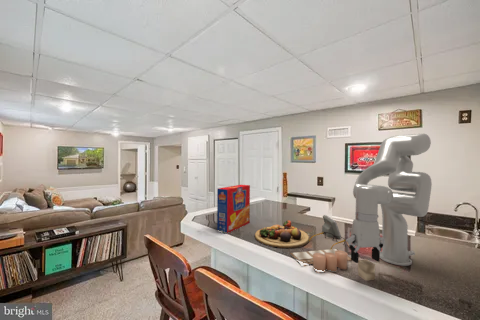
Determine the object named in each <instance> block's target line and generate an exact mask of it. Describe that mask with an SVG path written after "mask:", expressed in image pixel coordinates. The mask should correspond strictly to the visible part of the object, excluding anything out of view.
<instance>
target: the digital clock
mask: <svg viewBox="0 0 480 320" xmlns="http://www.w3.org/2000/svg"><path fill="white" fill-rule="evenodd" d="M322 220H323V221H324V223H323V224H322V226H321V230H322V231H321V233H322V232H328V233H326V234H324V236H325V237H326V238H334V236H333V235H335V236H339V237H337V239H342V238H341V237H342V235H341V232H340V230H339V226H338V224H337V222H336V220H334V219H333V218H331V217H329V216H328V215H326V214H323V215H322ZM329 233H331V234H329ZM332 234H333V235H332Z"/></svg>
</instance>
